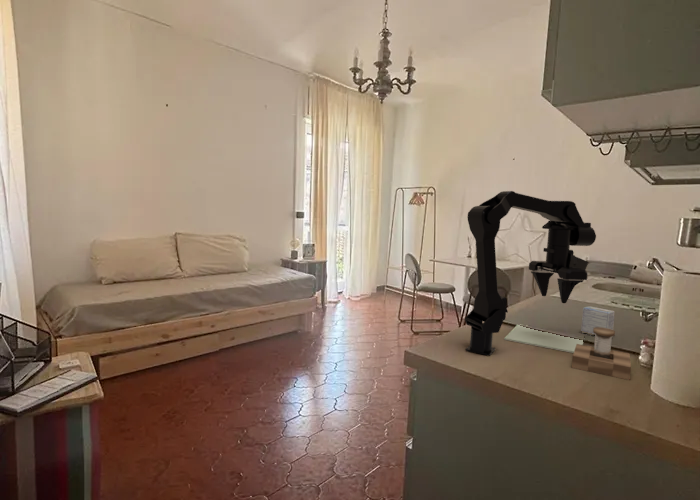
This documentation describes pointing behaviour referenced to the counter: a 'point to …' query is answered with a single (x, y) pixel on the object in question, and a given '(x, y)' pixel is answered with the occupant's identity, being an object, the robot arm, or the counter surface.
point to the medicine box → (597, 319)
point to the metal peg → (603, 342)
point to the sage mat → (543, 339)
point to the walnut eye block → (602, 362)
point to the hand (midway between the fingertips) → (553, 299)
